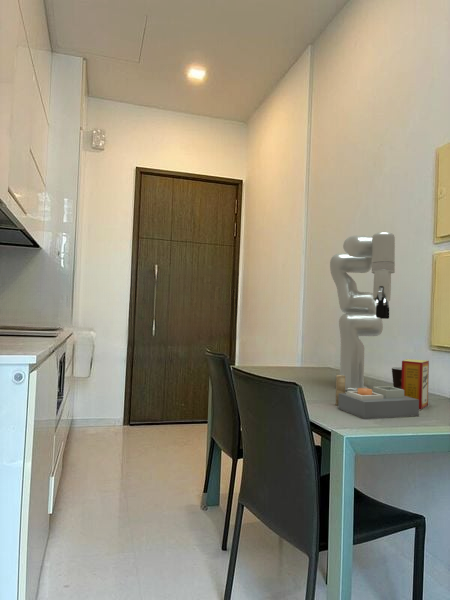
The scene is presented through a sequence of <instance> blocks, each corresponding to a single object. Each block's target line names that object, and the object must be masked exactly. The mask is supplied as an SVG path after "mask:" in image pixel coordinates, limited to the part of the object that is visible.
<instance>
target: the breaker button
mask: <svg viewBox="0 0 450 600" xmlns="http://www.w3.org/2000/svg"><path fill="white" fill-rule="evenodd" d="M372 392H373V388H368V387H367V388H358V394H360V395H372Z"/></svg>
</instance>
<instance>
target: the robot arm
mask: <svg viewBox="0 0 450 600" xmlns="http://www.w3.org/2000/svg"><path fill="white" fill-rule="evenodd" d="M395 236H396V235H395V234H394V233H392V232H389V231H387V232H386V231H383V232H382V231H381V232H376V233H374V234H373V235H372V236H371V235H351V236H348V237H347V238H346V239H345V240H344V241H343V244H342V248H343V251H344V252H345V253H344V252H341V253H336V254H334V255H332V257H331V258H330V261H329V271H330V274H331V277H332V278H331V279H332V280H333V282H334V283H335V286H336V290H337V297H338V304H339V308H340V310H341V312H342V313H344V314H342V315H340V317H339V319H338V327H339V335H340V357H339V358H340V363H339V364H340V365H339V375H344V376H345V392H347V391H358V388H368V386H367V385H364V381H365V375H364V374H365V345H364V343H363V342H362V341H361V338H360V337H378V336H380V335H381V334H382V332H383V330H384V326H383V325H384V324H383V323H384V322H383V319H390V304H389V302H390V301H391V295H392V294H391V293H392V274H394V273H395V272H396V271H395V270H396V269H395V266H396V263H395V262H396V260H395V259H396V256H395V255H396V254H395V252H396V251H395V250H396V249H395V248H396V245H395V244H396V243H395V242H396V237H395ZM370 270H371V273H372V274H373V291H372V292H369V291H365V292H364V291H359V290H358V287H357V283H356V281H355V280H354V278H352V276H351V275H349V274H348V273H353V274H354V273H355V274H366V273H368V272H370Z"/></svg>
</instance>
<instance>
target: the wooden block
mask: <svg viewBox="0 0 450 600" xmlns="http://www.w3.org/2000/svg"><path fill="white" fill-rule="evenodd" d="M335 379H336V380H335V383H336V384H335V405H336V406H337V407H338V402H339V393H346V390H345V376H344V375H340V374H336V377H335Z"/></svg>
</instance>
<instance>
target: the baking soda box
mask: <svg viewBox="0 0 450 600" xmlns="http://www.w3.org/2000/svg"><path fill="white" fill-rule="evenodd" d="M401 367H402V383H401V389H403V390H404V396H407V397H411V398H414V399H418V400H419V410H422V409H424V408H425V407H428V406H429V376H430V375H429V368H430V361H429V360H427V359H426V360H425V359H413V358H409V359H408V358H405V359H404V360H402V361H401Z"/></svg>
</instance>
